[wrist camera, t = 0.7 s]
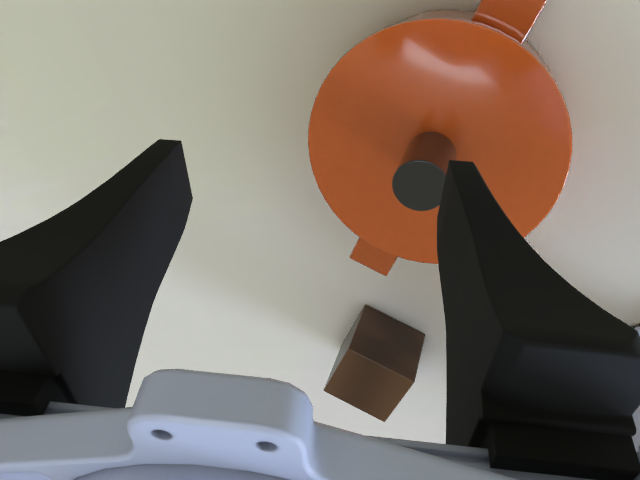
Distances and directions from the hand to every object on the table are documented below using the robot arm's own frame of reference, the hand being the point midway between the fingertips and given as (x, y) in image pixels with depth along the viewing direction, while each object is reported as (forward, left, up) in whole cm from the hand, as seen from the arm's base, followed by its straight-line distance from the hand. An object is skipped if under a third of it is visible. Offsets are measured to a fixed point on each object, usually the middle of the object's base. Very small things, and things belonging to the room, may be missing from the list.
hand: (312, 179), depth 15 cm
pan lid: (-4, +1, -12) cm, 13 cm away
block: (-16, +12, -16) cm, 26 cm away
